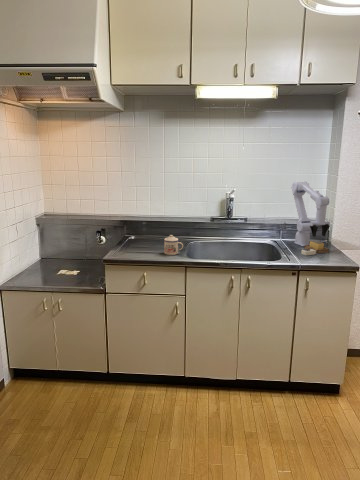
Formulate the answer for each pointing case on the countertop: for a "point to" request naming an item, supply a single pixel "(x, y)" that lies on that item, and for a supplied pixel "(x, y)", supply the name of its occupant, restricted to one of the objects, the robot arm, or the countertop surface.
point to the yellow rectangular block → (316, 244)
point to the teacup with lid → (171, 245)
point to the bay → (308, 252)
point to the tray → (316, 249)
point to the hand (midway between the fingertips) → (318, 236)
